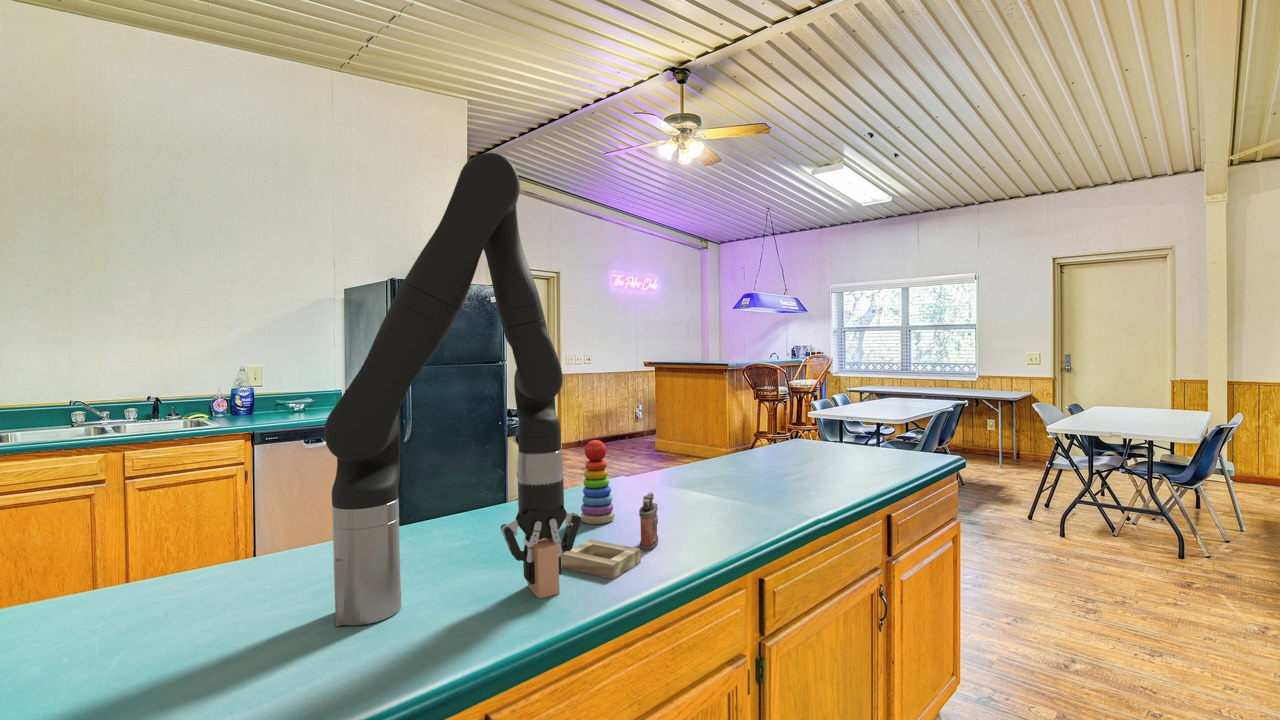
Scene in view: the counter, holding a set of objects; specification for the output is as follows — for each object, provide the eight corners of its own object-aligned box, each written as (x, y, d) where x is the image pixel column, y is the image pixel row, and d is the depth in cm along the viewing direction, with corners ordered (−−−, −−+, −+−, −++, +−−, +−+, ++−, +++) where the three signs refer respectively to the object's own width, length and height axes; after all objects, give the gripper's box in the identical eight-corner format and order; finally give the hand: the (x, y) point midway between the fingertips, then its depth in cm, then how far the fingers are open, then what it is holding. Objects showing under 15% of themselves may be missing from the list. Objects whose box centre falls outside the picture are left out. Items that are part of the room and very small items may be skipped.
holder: (613, 579, 100) (613, 564, 100) (561, 567, 106) (561, 553, 106) (640, 562, 108) (640, 549, 107) (590, 552, 114) (590, 539, 113)
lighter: (654, 551, 113) (652, 501, 113) (637, 550, 114) (636, 500, 113) (660, 538, 121) (659, 491, 121) (644, 537, 122) (643, 490, 121)
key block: (538, 598, 93) (537, 549, 92) (527, 585, 98) (526, 538, 98) (559, 593, 94) (558, 545, 94) (547, 581, 100) (546, 535, 99)
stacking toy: (621, 518, 136) (619, 439, 136) (601, 527, 129) (599, 444, 129) (594, 513, 140) (592, 437, 140) (573, 522, 134) (571, 441, 133)
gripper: (504, 487, 89) (507, 597, 89) (588, 476, 96) (591, 578, 96) (492, 478, 96) (495, 581, 96) (571, 468, 102) (574, 564, 103)
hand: (543, 579), depth 96 cm, fingers closed on key block, 3 cm apart
